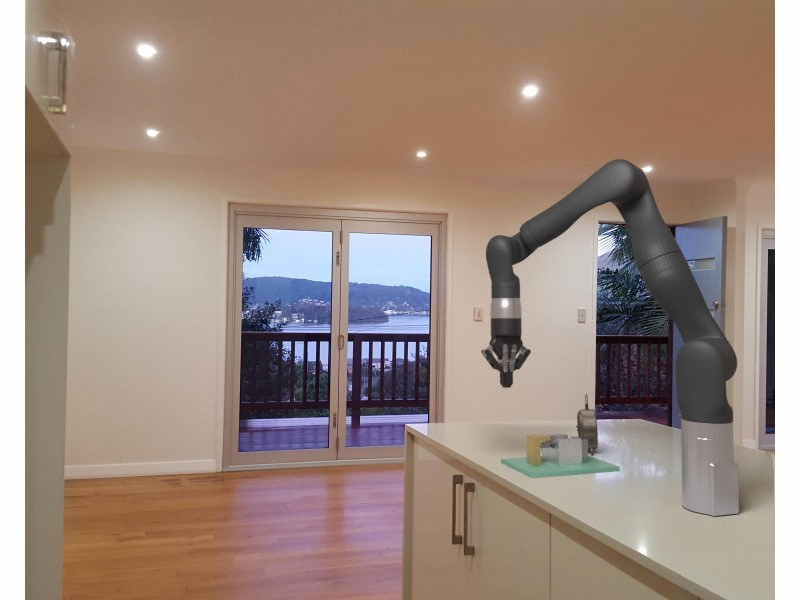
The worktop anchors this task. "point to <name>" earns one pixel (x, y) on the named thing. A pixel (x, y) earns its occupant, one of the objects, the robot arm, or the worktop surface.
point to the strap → (547, 444)
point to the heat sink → (566, 451)
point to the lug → (535, 448)
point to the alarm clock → (588, 426)
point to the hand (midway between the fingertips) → (506, 387)
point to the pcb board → (552, 470)
